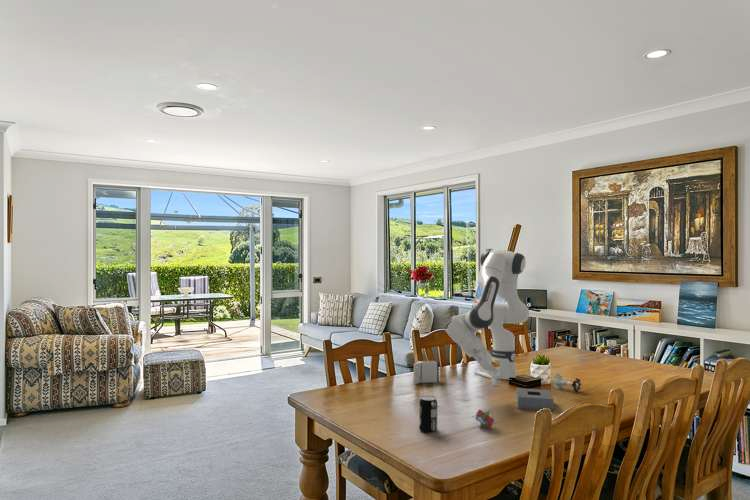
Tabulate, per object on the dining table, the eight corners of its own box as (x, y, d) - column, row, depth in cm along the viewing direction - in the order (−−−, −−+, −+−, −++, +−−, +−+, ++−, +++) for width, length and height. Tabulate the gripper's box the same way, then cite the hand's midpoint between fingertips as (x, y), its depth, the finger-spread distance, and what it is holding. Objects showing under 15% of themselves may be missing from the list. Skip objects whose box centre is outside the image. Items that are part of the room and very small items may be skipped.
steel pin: (489, 386, 220) (489, 361, 220) (494, 384, 223) (494, 359, 222) (496, 387, 218) (496, 362, 217) (501, 386, 220) (501, 361, 220)
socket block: (518, 408, 211) (518, 396, 211) (515, 399, 225) (516, 388, 225) (553, 411, 208) (553, 399, 208) (548, 401, 222) (549, 390, 222)
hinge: (414, 384, 249) (414, 363, 249) (410, 381, 254) (410, 361, 254) (440, 382, 253) (440, 362, 253) (435, 379, 258) (435, 360, 258)
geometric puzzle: (502, 423, 187) (490, 403, 190) (493, 427, 182) (481, 407, 185) (488, 431, 191) (477, 411, 194) (478, 435, 185) (467, 415, 189)
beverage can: (417, 427, 188) (418, 395, 188) (435, 427, 188) (435, 394, 188) (420, 433, 181) (421, 400, 181) (438, 433, 182) (439, 400, 182)
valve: (550, 388, 243) (574, 393, 234) (550, 375, 243) (575, 379, 234) (557, 386, 248) (581, 391, 239) (557, 372, 248) (581, 377, 239)
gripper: (479, 347, 211) (503, 372, 209) (479, 338, 231) (501, 361, 229) (468, 357, 212) (491, 382, 210) (469, 347, 232) (491, 370, 230)
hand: (496, 371), depth 220 cm, fingers closed on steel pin, 4 cm apart
